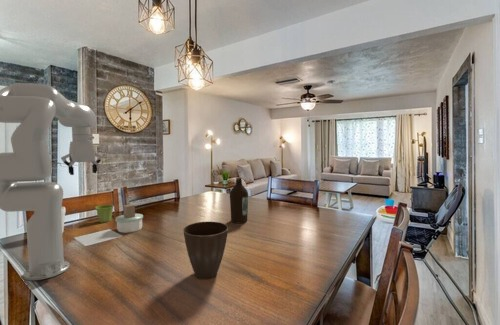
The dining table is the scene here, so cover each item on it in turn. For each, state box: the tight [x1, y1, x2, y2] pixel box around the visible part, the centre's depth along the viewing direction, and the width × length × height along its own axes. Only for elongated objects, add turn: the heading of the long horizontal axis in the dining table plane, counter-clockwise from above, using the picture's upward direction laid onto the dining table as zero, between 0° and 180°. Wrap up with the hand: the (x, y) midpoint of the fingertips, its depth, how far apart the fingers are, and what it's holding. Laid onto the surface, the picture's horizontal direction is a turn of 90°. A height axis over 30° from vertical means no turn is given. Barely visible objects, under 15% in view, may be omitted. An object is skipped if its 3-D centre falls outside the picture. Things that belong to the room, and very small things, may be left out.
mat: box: [73, 228, 123, 247], centre depth 123 cm, size 16×16×1 cm
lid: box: [114, 204, 144, 223], centre depth 133 cm, size 13×13×7 cm
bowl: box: [116, 218, 143, 234], centre depth 134 cm, size 11×11×6 cm
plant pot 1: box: [95, 204, 115, 224], centre depth 150 cm, size 9×9×9 cm
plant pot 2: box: [182, 221, 229, 280], centre depth 88 cm, size 15×15×16 cm
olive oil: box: [229, 177, 249, 224], centre depth 148 cm, size 11×11×25 cm
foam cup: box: [61, 206, 66, 234], centre depth 127 cm, size 10×9×13 cm
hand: (83, 173), depth 126 cm, fingers open, 9 cm apart
